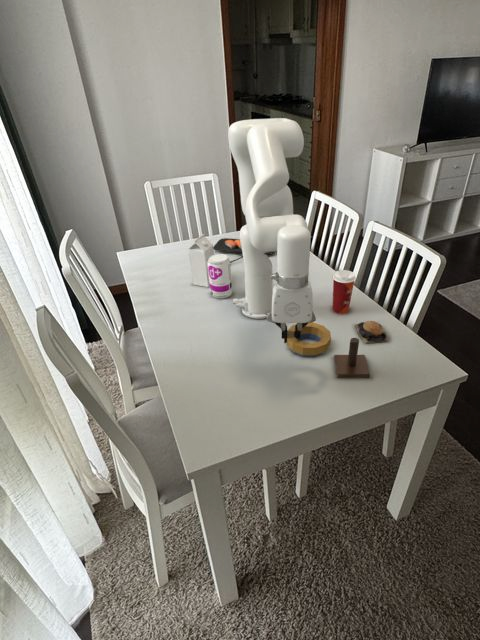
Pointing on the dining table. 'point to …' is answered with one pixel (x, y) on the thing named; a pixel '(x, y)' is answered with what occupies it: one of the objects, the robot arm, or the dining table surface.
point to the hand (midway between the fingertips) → (290, 339)
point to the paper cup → (342, 290)
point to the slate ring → (308, 336)
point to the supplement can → (220, 276)
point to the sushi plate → (231, 246)
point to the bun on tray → (371, 332)
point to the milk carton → (200, 260)
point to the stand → (351, 363)
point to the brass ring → (309, 347)
